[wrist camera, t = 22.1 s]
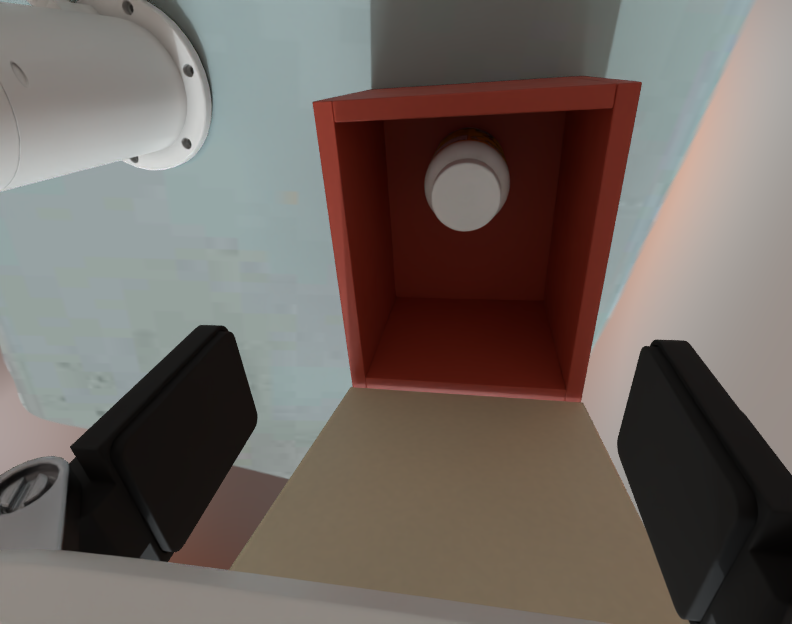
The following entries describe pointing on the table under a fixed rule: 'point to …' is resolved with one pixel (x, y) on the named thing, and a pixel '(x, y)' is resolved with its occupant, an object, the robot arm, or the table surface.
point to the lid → (465, 509)
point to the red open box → (475, 234)
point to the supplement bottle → (467, 179)
